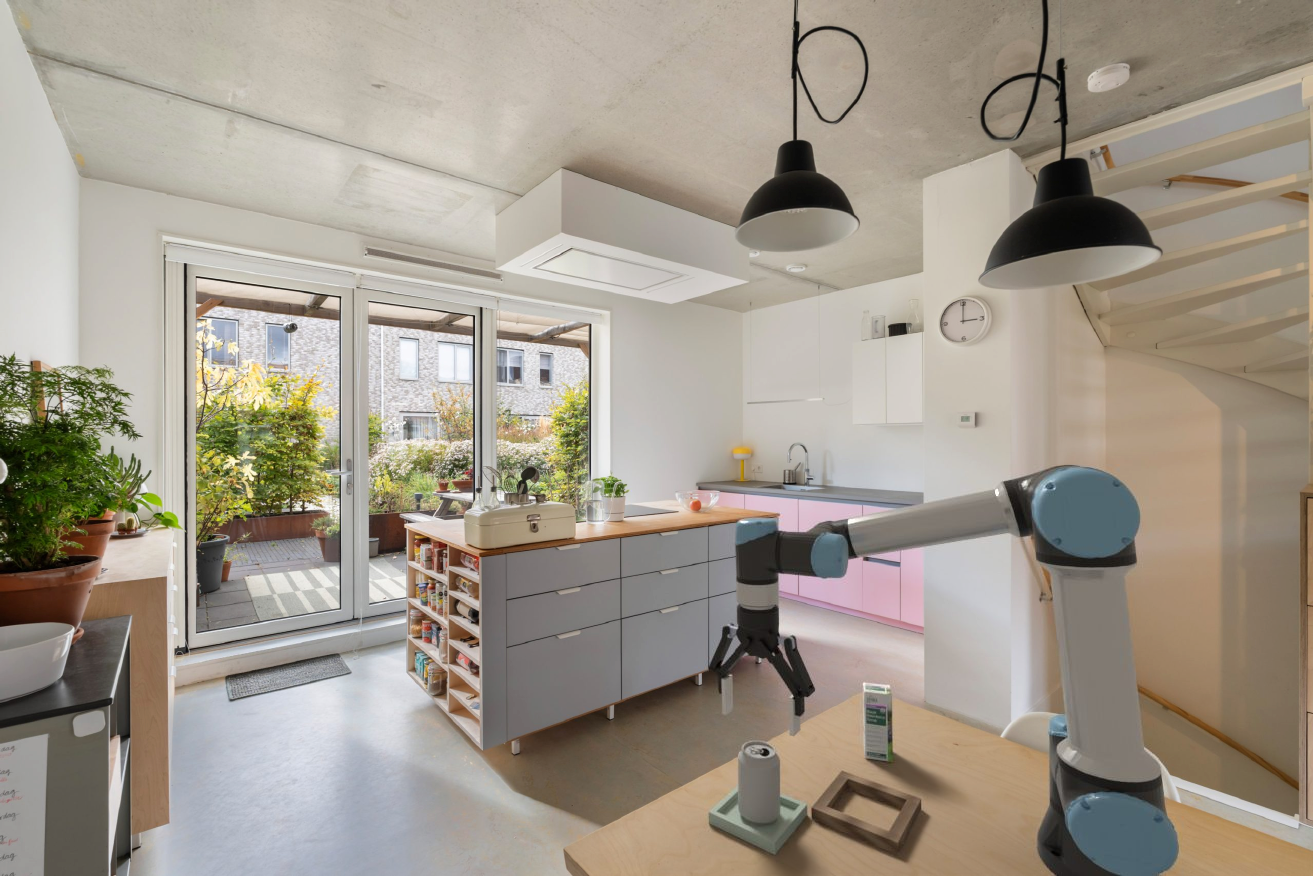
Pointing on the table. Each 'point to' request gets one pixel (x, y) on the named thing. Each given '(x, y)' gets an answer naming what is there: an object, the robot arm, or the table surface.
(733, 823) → the tray
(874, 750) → the syrup box
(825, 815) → the holder
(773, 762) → the can
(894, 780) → the table surface
